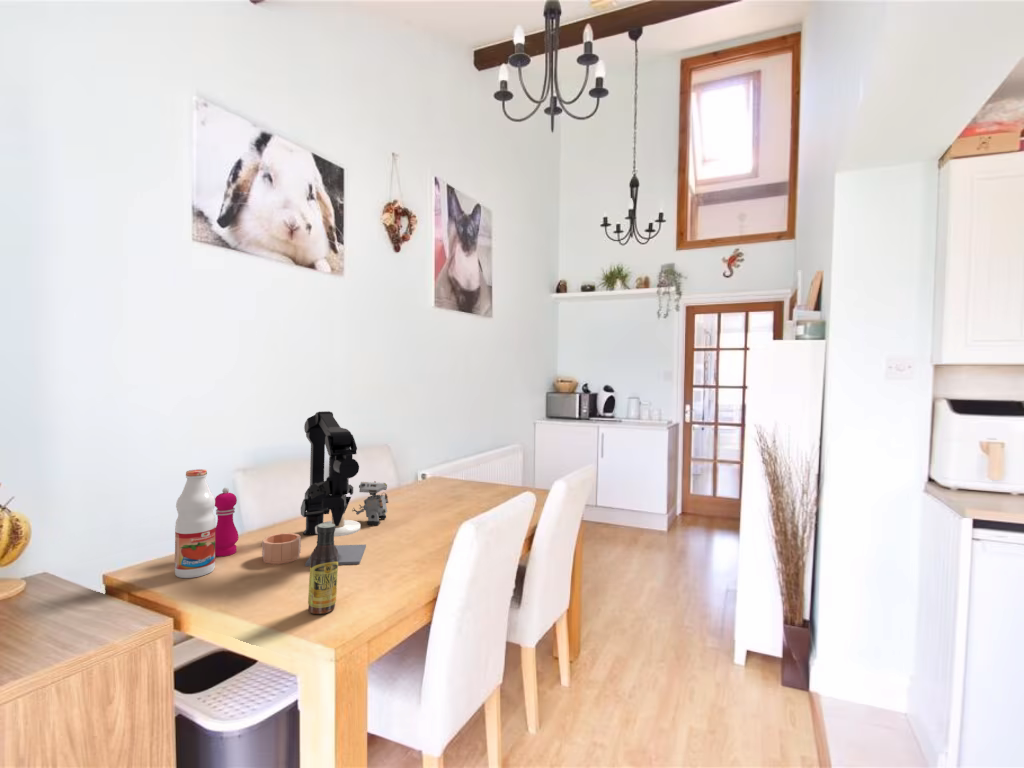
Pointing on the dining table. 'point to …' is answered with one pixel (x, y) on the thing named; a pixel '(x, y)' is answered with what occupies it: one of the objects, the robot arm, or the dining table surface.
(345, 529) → the lid
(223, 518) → the pepper mill
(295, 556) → the bowl
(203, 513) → the fruit juice
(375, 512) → the figurine
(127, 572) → the dining table surface
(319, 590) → the sauce bottle
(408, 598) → the dining table surface
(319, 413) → the robot arm
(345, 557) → the mat
